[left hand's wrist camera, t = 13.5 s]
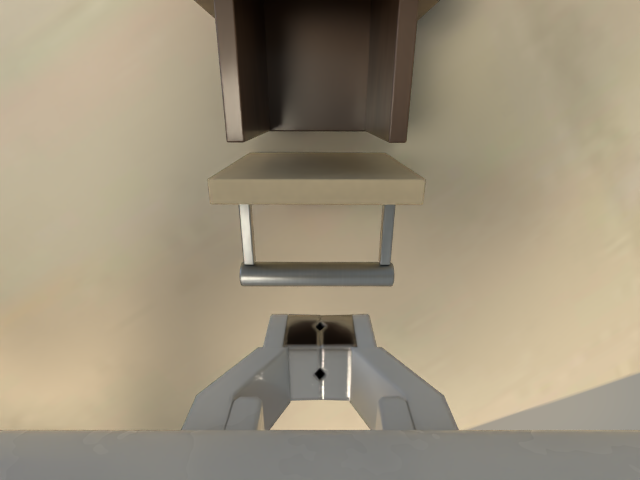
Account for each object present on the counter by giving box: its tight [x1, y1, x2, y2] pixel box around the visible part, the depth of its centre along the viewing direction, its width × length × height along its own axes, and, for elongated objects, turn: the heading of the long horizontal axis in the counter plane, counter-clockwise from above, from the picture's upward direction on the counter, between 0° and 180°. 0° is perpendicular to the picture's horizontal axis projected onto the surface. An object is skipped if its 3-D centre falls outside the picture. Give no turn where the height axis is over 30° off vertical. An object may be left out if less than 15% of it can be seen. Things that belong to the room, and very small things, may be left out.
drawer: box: [207, 0, 426, 286], centre depth 18 cm, size 24×10×10 cm, turn 0°
